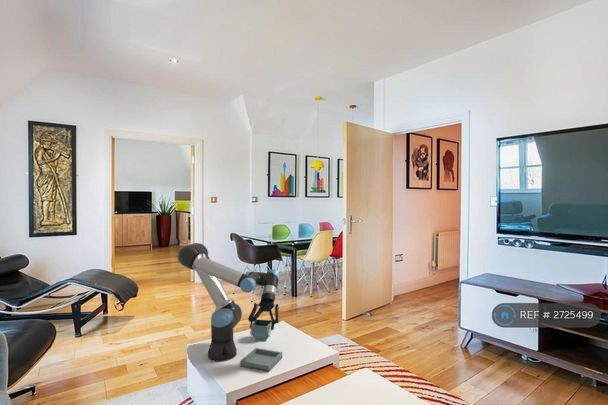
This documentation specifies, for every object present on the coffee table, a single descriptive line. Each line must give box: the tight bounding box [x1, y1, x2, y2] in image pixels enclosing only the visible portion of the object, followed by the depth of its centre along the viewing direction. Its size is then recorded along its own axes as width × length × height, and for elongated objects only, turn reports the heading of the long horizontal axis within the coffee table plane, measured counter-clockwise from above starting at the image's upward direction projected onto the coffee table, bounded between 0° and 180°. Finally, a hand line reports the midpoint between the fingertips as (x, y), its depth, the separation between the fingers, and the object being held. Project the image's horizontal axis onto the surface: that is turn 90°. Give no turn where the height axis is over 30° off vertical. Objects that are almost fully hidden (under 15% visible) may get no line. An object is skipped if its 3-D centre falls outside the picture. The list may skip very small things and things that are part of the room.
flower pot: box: [251, 319, 272, 343], centre depth 170 cm, size 9×9×9 cm
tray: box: [239, 347, 283, 373], centre depth 170 cm, size 16×16×3 cm
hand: (260, 335), depth 167 cm, fingers closed on flower pot, 9 cm apart
